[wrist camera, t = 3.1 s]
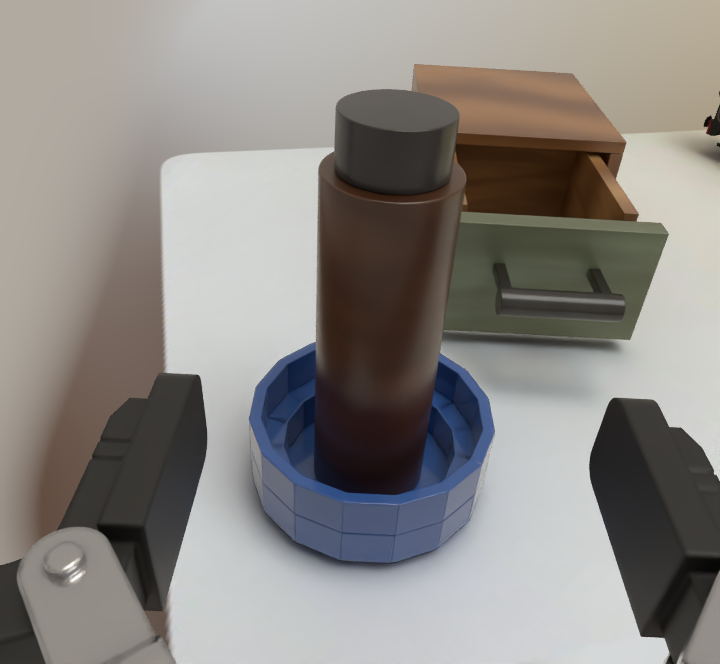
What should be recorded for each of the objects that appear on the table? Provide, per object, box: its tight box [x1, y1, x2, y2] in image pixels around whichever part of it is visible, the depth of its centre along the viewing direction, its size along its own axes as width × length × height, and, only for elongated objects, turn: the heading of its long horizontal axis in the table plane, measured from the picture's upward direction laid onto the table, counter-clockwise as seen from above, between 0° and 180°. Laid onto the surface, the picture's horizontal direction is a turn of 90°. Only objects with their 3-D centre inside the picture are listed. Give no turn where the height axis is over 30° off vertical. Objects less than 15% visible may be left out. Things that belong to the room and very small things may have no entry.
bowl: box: [249, 342, 495, 563], centre depth 29 cm, size 10×10×4 cm
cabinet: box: [412, 64, 626, 179], centre depth 50 cm, size 15×13×9 cm
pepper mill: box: [314, 89, 467, 495], centre depth 25 cm, size 5×5×16 cm
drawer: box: [443, 144, 669, 340], centre depth 40 cm, size 17×11×7 cm, turn 179°
